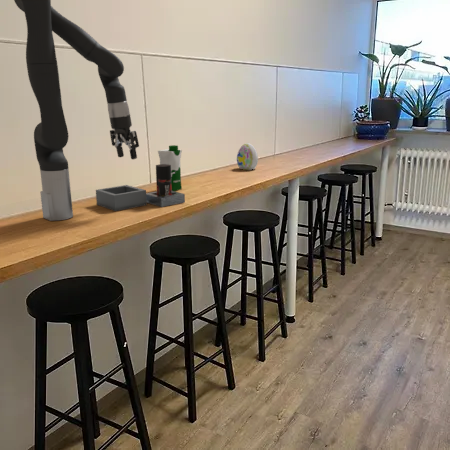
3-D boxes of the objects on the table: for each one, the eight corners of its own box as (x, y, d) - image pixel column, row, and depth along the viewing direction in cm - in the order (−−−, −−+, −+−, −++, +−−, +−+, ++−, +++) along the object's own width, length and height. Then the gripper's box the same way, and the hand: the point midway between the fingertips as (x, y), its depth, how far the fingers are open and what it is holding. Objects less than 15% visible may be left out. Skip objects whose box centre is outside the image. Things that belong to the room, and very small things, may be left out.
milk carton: (172, 192, 200) (171, 147, 195) (157, 190, 205) (155, 145, 199) (184, 189, 208) (183, 145, 202) (168, 186, 212) (167, 144, 206)
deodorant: (164, 199, 186) (163, 163, 182) (175, 202, 183) (173, 165, 179) (154, 202, 182) (152, 165, 178) (164, 204, 178) (162, 167, 174)
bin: (115, 211, 168) (114, 195, 167) (96, 204, 178) (95, 189, 176) (146, 205, 178) (146, 190, 176) (127, 199, 187) (126, 185, 186)
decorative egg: (232, 168, 263) (232, 142, 259) (247, 166, 271) (247, 141, 267) (247, 171, 254) (247, 144, 250) (262, 169, 262) (262, 143, 258)
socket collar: (161, 207, 175) (161, 198, 174) (144, 202, 183) (144, 193, 182) (184, 202, 182) (184, 193, 181) (167, 197, 190) (167, 189, 189)
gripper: (100, 116, 167) (108, 158, 173) (122, 117, 158) (130, 162, 164) (117, 112, 172) (124, 154, 178) (139, 113, 163) (146, 157, 169)
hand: (127, 157), depth 171 cm, fingers open, 8 cm apart
